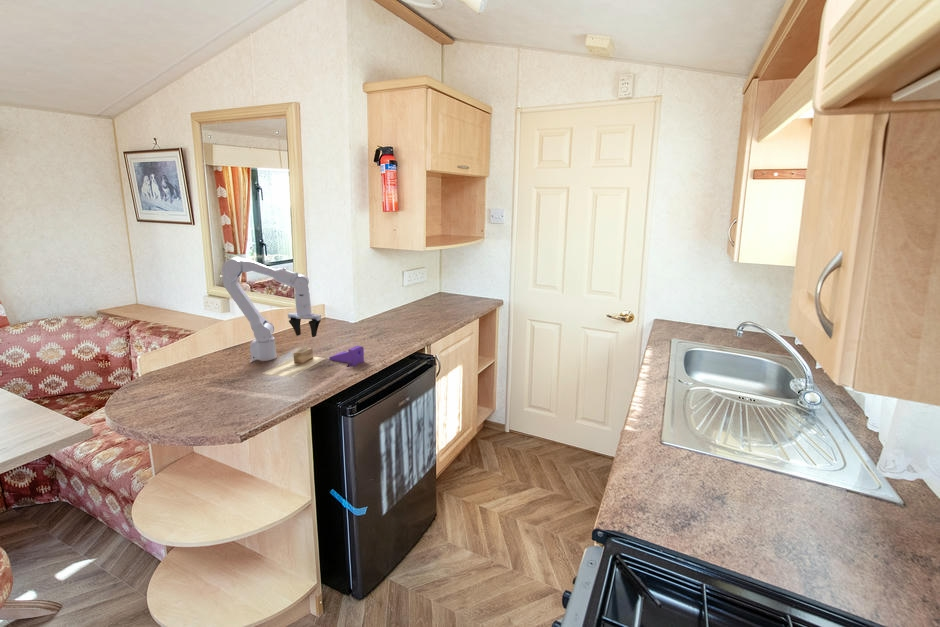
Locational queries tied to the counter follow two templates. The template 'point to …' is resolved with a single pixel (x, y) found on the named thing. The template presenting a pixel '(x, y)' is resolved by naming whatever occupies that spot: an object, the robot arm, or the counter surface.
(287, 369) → the board
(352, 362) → the bracket
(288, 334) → the counter surface
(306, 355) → the block
